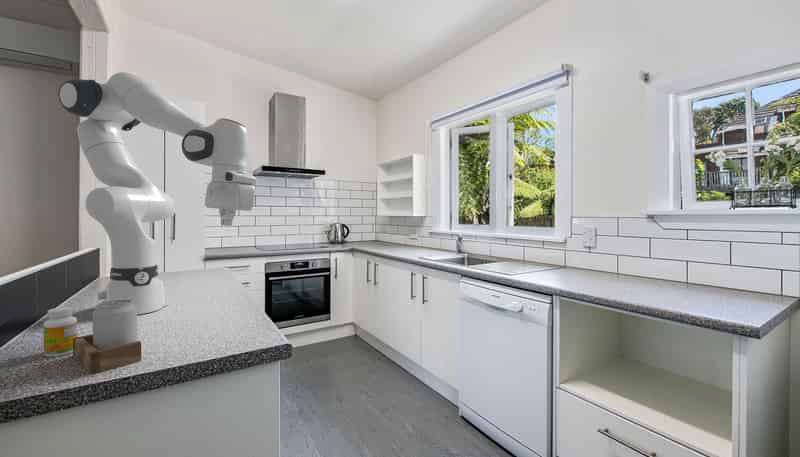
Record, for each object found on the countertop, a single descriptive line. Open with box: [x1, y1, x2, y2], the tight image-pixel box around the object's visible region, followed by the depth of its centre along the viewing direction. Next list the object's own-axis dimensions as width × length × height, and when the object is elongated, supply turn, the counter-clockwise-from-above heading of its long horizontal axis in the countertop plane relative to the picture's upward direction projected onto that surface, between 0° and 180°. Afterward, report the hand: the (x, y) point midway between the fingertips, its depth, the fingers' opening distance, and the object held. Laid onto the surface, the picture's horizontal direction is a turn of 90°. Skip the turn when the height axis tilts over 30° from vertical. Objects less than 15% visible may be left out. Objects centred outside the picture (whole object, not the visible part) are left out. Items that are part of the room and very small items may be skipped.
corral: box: [72, 333, 142, 375], centre depth 75 cm, size 14×8×4 cm, turn 54°
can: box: [91, 299, 139, 350], centre depth 75 cm, size 8×8×12 cm
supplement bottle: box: [42, 306, 79, 357], centre depth 77 cm, size 5×5×10 cm
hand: (226, 225), depth 100 cm, fingers closed
